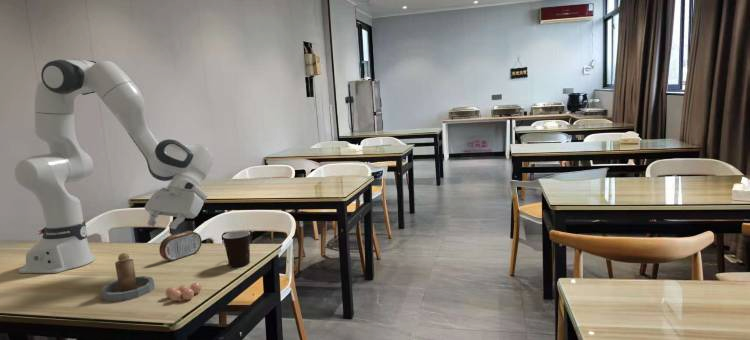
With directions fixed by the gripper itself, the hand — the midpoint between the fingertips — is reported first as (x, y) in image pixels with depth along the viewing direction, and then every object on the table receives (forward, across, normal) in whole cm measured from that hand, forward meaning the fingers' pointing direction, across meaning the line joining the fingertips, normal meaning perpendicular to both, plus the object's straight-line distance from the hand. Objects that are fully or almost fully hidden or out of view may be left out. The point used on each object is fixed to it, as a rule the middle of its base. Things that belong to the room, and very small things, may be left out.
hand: (160, 226), depth 151 cm
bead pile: (+19, +20, +2) cm, 28 cm away
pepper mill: (+21, +1, +1) cm, 21 cm away
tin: (+1, -9, +22) cm, 24 cm away
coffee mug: (-1, +16, +22) cm, 28 cm away
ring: (+21, +1, +1) cm, 21 cm away
